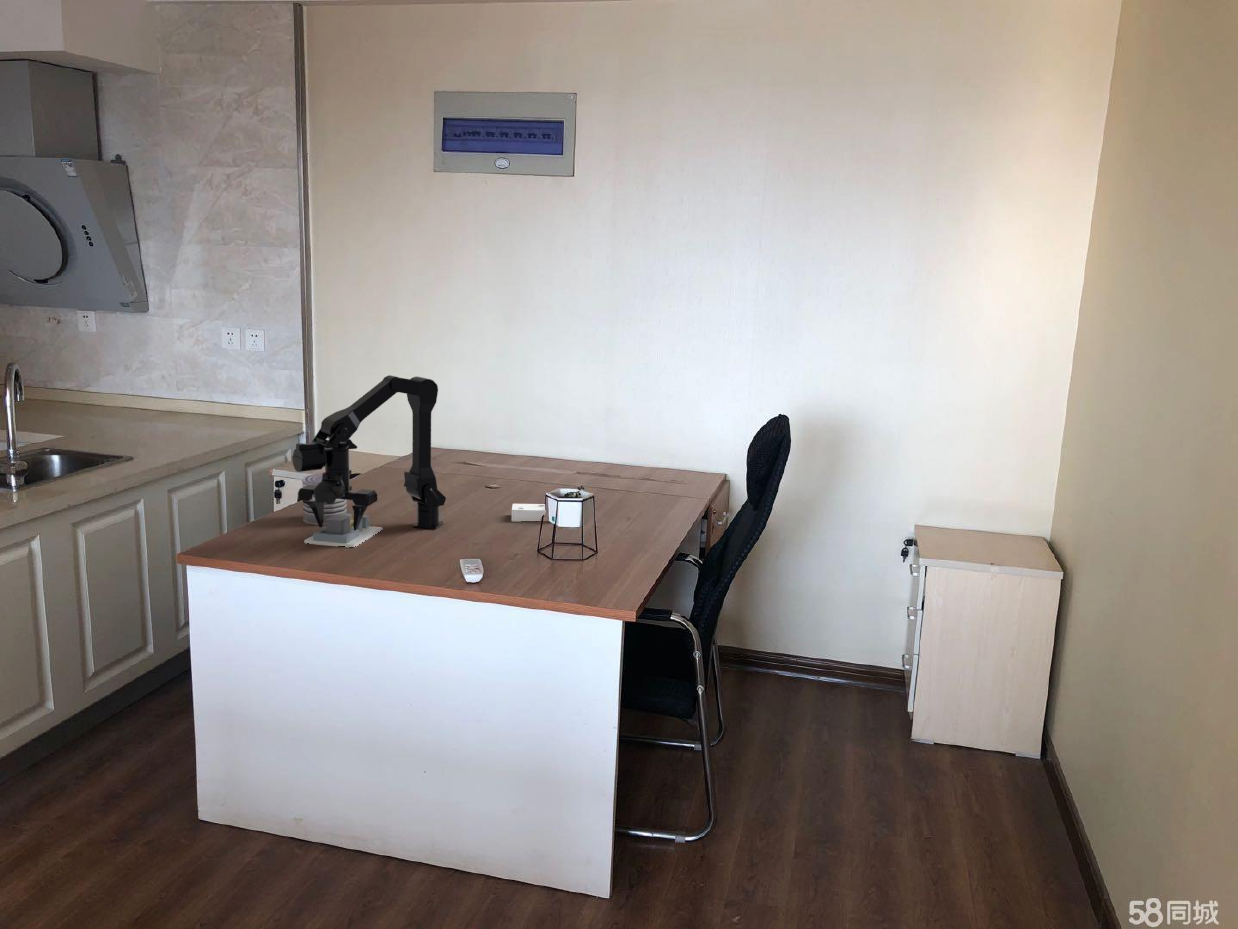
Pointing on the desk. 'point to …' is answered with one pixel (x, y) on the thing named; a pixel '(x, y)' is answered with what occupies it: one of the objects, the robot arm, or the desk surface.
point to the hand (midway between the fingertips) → (338, 528)
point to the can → (329, 509)
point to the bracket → (528, 512)
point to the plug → (338, 524)
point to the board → (349, 538)
